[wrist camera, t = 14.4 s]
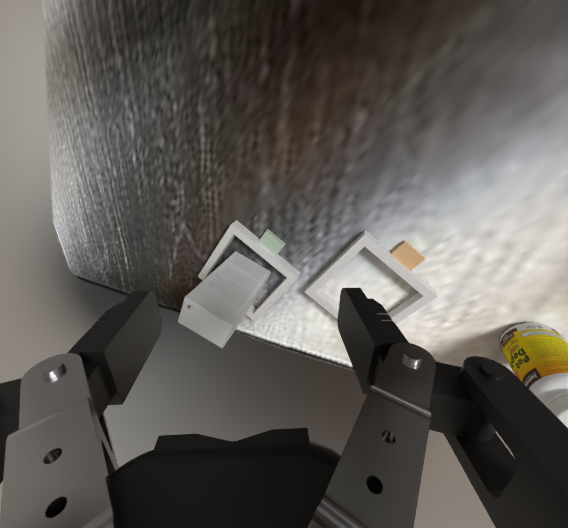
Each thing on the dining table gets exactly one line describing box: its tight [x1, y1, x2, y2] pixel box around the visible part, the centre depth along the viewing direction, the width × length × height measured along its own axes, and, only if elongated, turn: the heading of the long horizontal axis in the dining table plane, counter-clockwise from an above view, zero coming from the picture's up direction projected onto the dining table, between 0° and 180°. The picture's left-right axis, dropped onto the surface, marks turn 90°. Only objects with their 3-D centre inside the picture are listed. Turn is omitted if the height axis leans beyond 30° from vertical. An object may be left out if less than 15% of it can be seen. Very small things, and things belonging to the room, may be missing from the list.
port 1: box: [198, 220, 300, 322], centre depth 37 cm, size 11×13×2 cm
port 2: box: [305, 231, 437, 324], centre depth 32 cm, size 11×13×2 cm
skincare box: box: [178, 251, 271, 348], centre depth 33 cm, size 6×4×12 cm
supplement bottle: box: [500, 323, 568, 428], centre depth 26 cm, size 6×6×10 cm
